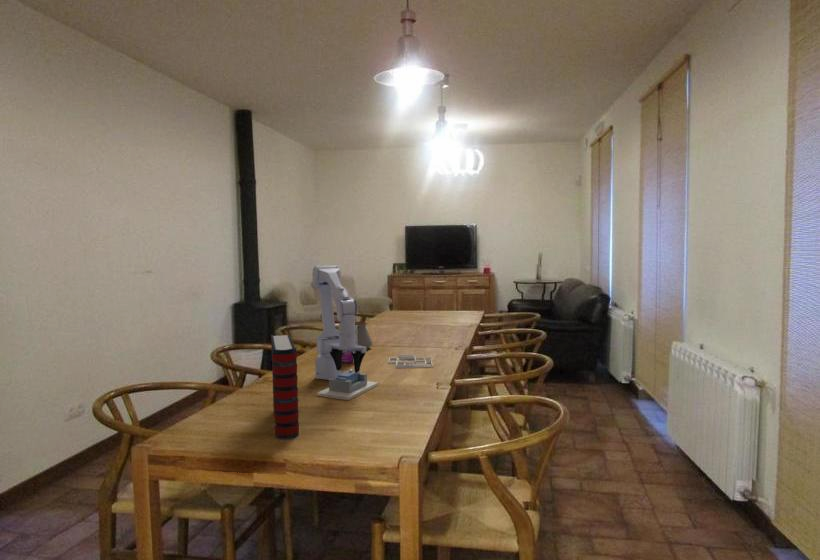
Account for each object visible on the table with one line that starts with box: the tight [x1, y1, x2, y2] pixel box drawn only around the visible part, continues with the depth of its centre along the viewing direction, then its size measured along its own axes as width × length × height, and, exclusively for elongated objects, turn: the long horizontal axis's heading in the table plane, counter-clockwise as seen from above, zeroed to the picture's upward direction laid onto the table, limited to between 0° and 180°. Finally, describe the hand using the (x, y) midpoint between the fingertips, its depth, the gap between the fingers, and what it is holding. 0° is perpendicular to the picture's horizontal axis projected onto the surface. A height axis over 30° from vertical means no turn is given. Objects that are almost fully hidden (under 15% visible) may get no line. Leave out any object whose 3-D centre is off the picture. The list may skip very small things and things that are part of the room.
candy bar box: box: [332, 323, 358, 364], centre depth 234 cm, size 11×5×16 cm, turn 65°
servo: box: [335, 369, 361, 384], centre depth 190 cm, size 4×10×6 cm, turn 154°
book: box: [270, 333, 300, 440], centre depth 156 cm, size 25×7×25 cm, turn 16°
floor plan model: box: [387, 354, 434, 369], centre depth 231 cm, size 19×25×2 cm
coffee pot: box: [355, 321, 373, 350], centre depth 257 cm, size 21×12×15 cm, turn 178°
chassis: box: [316, 372, 379, 401], centre depth 191 cm, size 13×20×5 cm, turn 154°
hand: (348, 370), depth 190 cm, fingers open, 7 cm apart
